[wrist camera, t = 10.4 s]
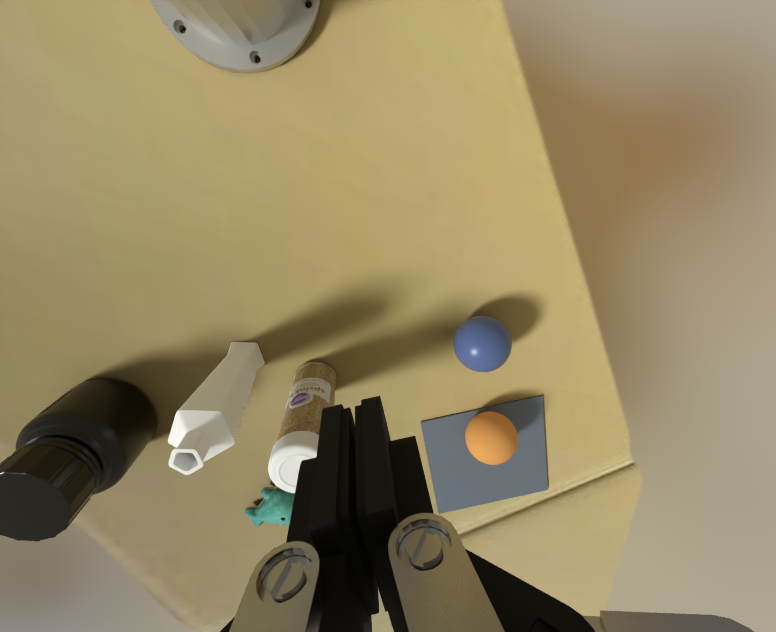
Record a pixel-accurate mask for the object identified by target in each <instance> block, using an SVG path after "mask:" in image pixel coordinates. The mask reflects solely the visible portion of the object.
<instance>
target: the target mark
mask: <svg viewBox="0 0 776 632" xmlns="http://www.w3.org/2000/svg"><path fill="white" fill-rule="evenodd" d="M488 411H491V412H497V413H500V414H502V415H504V416H505V417H507V418H508V419H509V420H510V421H511V422H512V424H513V425H514V427H515V429H516V432H517V436H518V445H517V449H516V451H515V453H514V455H513V456H512V457H511V458H510V459H509V460H508V461H506V462H504V463H502V464H498V465H489V464H485V463H483V462H481V461H479V460H477V459H476V458H475V457H474V456H473V455H472V454H471V452H470V451H469V449H468V447H467V445H466V440H465V432H466V428H467V425H468V423H469V422H470V421H471V419H472V418H473V417H475V416H476V415H478V414H480V413H483V412H488ZM421 425H422V430H423V435H424V441H425V446H426V451H427V456H428V461H429V466H430V471H431V476H432V481H433V486H434V491H435V496H436V501H437V507H438V512H439V514H440V513H445V512H449V511H454V510H458V509H463V508H467V507H472V506H476V505H481V504H485V503H490V502H494V501H499V500H503V499H508V498H512V497H517V496H521V495H526V494H531V493H535V492H540V491H544V490H548V483H547V466H546V448H545V431H544V413H543V396H542V395H540V396H535V397H531V398H526V399H521V400H517V401H512V402H508V403H503V404H499V405H494V406H489V407H485V408H480V409H476V410H471V411H466V412H462V413H457V414H453V415H448V416H443V417H439V418H434V419H430V420H425V421H421Z"/></svg>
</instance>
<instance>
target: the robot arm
mask: <svg viewBox="0 0 776 632" xmlns="http://www.w3.org/2000/svg"><path fill="white" fill-rule="evenodd" d="M150 1H151V4H152V6H153V8H154V9H155V11H156V13H157V14H158V16H159V17H160V19H161V21H162V22H163V24H164V25H165V26H166V27H167V29H168V30H169V31H170V32H171V33H172V35H173V36H174V37H175V38H176V39H177V40H178V41H179V42H180V43H181V44H182V45H184V46H185V47H186V48H187V49H188V50H189V51H190V52H192V53H193V54H195V55H196V56H197V57H199V58H200V59H202V60H203V61H205V62H207V63H209V64H211V65H213V66H215V67H217V68H220V69H224V70H227V71H231V72H236V73H257V72H263V71H267V70H270V69H272V68H275V67H277V66H280V65H281V64H283V63H284V62H285V61H287V60H288V59H290V58H291V57H293V56H294V54H295V53H296V52H297V51H298V50H299V49H300V48H301V47H302V46H303V45H304V43H305V41H306V40H307V38H308V37H309V35H310V33H311V32H312V29H313V27H314V24H315V21H316V19H317V16H318V13H319V7H320V2H321V0H150ZM307 2H310V3H312V7H311V8H307V7H306V6H305V5H306V3H307ZM183 27H186V31H185V33H183V34H182V32H181V30H182V28H183ZM256 57H260V58H261V61H260V63H256V62H255V58H256ZM378 589H379V592H380V595H381V599H382V602H383V605H384V608H385V611H388V613H389V616H390V620H391V623H392V627H393V630H394V632H753V631H752V630H751V629H750V628H748V627H746V626H744V625H742V624H740V623H738V622H736V621H734V620H732V619H729V618H725V617H719V616H715V615H699V614H674V613H646V612H622V611H600V617H597V616H582V615H581V614H579V613H578V612H576V611H575V610H574V609H572V608H571V607H569V606H568V605H566V604H564V603H562V602H560V601H559V600H557V599H555V598H553V597H551V596H550V595H548V594H546V593H544V592H542V591H541V590H539V589H537V588H535V587H533V586H532V585H530V584H528V583H526V582H524V581H522V580H521V579H519V578H517V577H515V576H513V575H512V574H510V573H508V572H506V571H504V570H503V569H501V568H499V567H497V566H495V565H494V564H492V563H490V562H488V561H486V560H485V559H483V558H481V557H479V556H477V555H476V554H474V553H472V552H470V551H468V550H467V549H465V548H464V546H463V544H462V541H461V539H460V537H459V535H458V533H457V531H456V530H455V528H454V527H453V525H452V524H451V523H450V522H449V521H448V520H446V519H445V518H444V517H442V516H439V515H436V514H434V513H433V509H432V505H431V500H430V496H429V492H428V488H427V484H426V479H425V475H424V471H423V467H422V463H421V459H420V454H419V450H418V446H417V442H416V438H415V436H412V437H407V438H403V439H398V440H394V441H391V440H390V436H389V431H388V427H387V423H386V419H385V414H384V410H383V406H382V402H381V398H380V396H377V397H372V398H368V399H363V400H361V405H359V406H355V423H354V420H353V416H352V412H351V409H350V408H346V409H344V408H343V406H342V404H340V405H336V406H331V407H326V408H323V409H322V415H321V424H320V432H319V440H318V448H317V456H316V458H311V459H307V460H302V462H301V464H300V468H299V473H298V479H297V485H296V490H295V496H294V502H293V507H292V513H291V519H290V525H289V530H288V536H287V542H286V543H284V544H282V545H280V546H278V547H276V548H274V549H273V550H271V551H270V552H269V553H268V554H266V555H265V556H264V557H263V558H262V560H261V561H260V562H259V563H258V564H257V565H256V567H255V569H254V571H253V573H252V575H251V577H250V579H249V582H248V584H247V587H246V589H245V592H244V595H243V597H242V600H241V602H240V605H239V608H238V610H237V613H236V615H235V617H234V618H233V619H232V620H231V621H230V622H229V623H228V624H227V625H226V626H225V627H224V628H223V629H222V630H221V631H220V632H372V621H371V615H373V614H377V613H379V599H378Z"/></svg>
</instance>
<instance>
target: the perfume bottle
mask: <svg viewBox="0 0 776 632" xmlns="http://www.w3.org/2000/svg"><path fill="white" fill-rule="evenodd" d="M264 364H265V362H264V359H263V357H262V354H261V351H260V349H259V346H258V344H257V343H250V342H232V343H231V344H230V347H229V351H228V354H227V356H226V357H225V358H224V359H223V360H222V361H221V362H220V364H219V365H218V366H217V367H216V368H215V369H214V370H213V371H212V373H211V374H210V375H209V376H208V377H207V378H206V379H205V380H204V382H203V383H202V384H201V385H200V386H199V387H198V388H197V389H196V391H195V392H194V393H193V394H192V395H191V396H190V397H189V398H188V399H187V401H186V402H185V403H184V404H183V405H182V406H181V407H180V408H179V410H178V411H177V412H176V415H175V418H174V422H173V425H172V428H171V432H170V435H169V439H168V442H169V444H171V445H173V446H174V447H176V449H174V450H173V451H172V453H171V456H170V460H169V466H170V467H171V468H173V469H175V470H177V471H179V472H181V473H183V474H185V475H189V474H191V473H193V472H195V471H196V470H198V469H200V468H202V467H203V465H204V464H203V461H207V460H208V459H210V458H212V457H214V456H215V455H217V454H219V453H221V452H222V451H224V450H226V449H228V448H229V447H231V446H233V445H234V443H235V440H236V437H237V434H238V431H239V427H240V424H241V421H242V418H243V415H244V411H245V408H246V405H247V402H248V398H249V395H250V392H251V389H252V386H253V382H254V379H255V376H256V373H257V370H259V369H260V368H261V367H262V366H263V365H264Z"/></svg>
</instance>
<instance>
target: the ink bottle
mask: <svg viewBox="0 0 776 632" xmlns="http://www.w3.org/2000/svg"><path fill="white" fill-rule="evenodd" d="M156 426H157V418H156V413H155V410H154V408H153V406H152V404H151V402H150V401H149V400H148V398H147V397H146V396H145V395H144V394H143V393H142V392H141V391H140V390H138V389H137V388H136V387H134V386H132V385H130V384H128V383H125V382H122V381H118V380H112V379H96V380H90V381H86V382H83V383H81V384H79V385H77V386H75V387H74V388H72V389H71V390H70V391H69V392H67V393H65V394H64V395H63V396H62V397H60V398H59V399H58V400H57V401H55V402H54V403H53V404H51V405H50V406H49V407H47V408H46V409H45V410H44V411H42V412H41V413H40V414H39V415H37V416H36V417H35V418H34V419H33V420H31V421H30V422H29V423H28V424H27V425H26V426H25V427H24V428H23V429H22V431H21V432H20V434H19V436H18V438H17V442H16V451H15V452H14V453H13V454H12V455H11V456H9V457H7V458H6V459H5V460H4V461H3V462H1V463H0V535H3V536H6V537H10V538H13V539H15V540H19V541H20V540H26V541H40V540H44V539H48V538H53V537H55V536H56V535H57V534H59V533H60V532H62V531H63V530H65V529H66V528H67V527H68V526H69V525H70V523H71V522H72V521H73V520H74V518H75V517H76V516H77V515H78V513H79V512H80V511H81V510H82V508H83V507H84V506H85V505H86V503H87V502H88V501H89V500H90V497H91V496H92V495H93V494H97V493H100V492H102V491H105V490H107V489H109V488H110V487H112V486H114V485H115V484H116V483H117V482H118V481H119V480H120V479H121V478H122V477H123V476H124V475H125V473H126V472H127V471H128V469H129V468H130V467H131V465H132V464H133V463H134V461H135V460H136V459H137V457H138V456H139V455H140V453H141V452H142V451H143V449H144V448H145V447H146V445H147V444H148V443H149V441H150V440H151V439H152V437H153V435H154V433H155V431H156Z"/></svg>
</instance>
